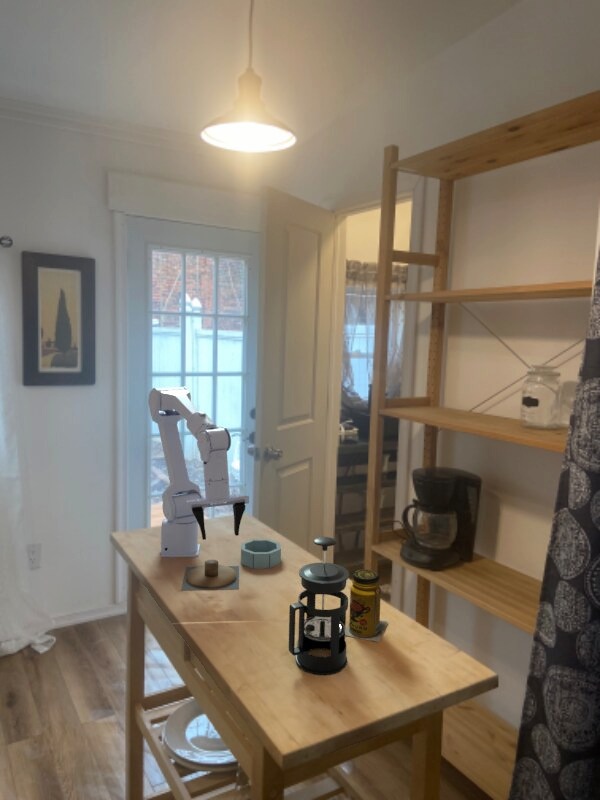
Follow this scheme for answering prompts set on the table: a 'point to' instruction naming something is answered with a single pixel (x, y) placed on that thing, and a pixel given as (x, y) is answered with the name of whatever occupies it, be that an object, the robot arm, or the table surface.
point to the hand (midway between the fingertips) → (220, 536)
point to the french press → (320, 616)
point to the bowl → (260, 553)
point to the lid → (211, 575)
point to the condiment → (365, 607)
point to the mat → (231, 586)
